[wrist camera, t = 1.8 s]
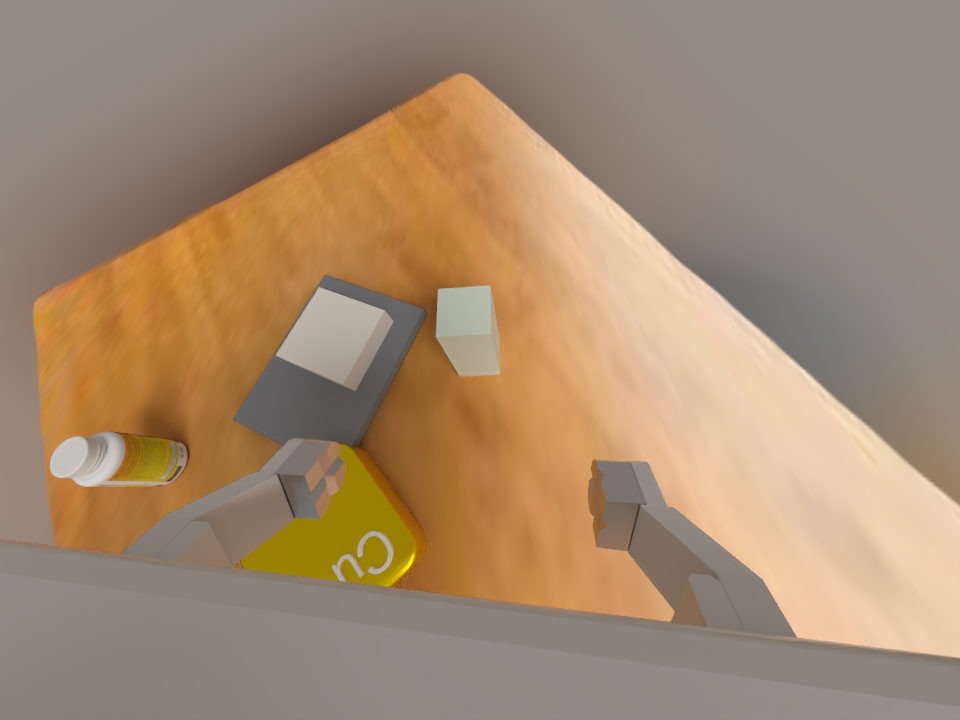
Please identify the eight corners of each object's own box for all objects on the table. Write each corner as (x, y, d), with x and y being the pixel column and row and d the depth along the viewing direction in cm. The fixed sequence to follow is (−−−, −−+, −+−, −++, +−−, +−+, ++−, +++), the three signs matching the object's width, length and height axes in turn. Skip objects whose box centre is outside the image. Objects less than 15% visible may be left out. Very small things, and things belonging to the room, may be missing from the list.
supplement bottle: (189, 433, 44) (96, 419, 34) (192, 475, 42) (94, 472, 32) (148, 450, 44) (43, 440, 34) (149, 493, 42) (38, 496, 32)
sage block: (500, 374, 41) (490, 334, 30) (459, 376, 42) (435, 336, 31) (499, 337, 43) (490, 285, 32) (460, 339, 44) (438, 288, 33)
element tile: (359, 440, 41) (339, 434, 37) (436, 546, 36) (423, 554, 32) (255, 530, 39) (221, 536, 35) (321, 656, 34) (291, 682, 30)
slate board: (344, 474, 40) (322, 472, 35) (242, 421, 43) (212, 415, 39) (427, 314, 45) (417, 297, 41) (330, 280, 49) (312, 262, 45)
